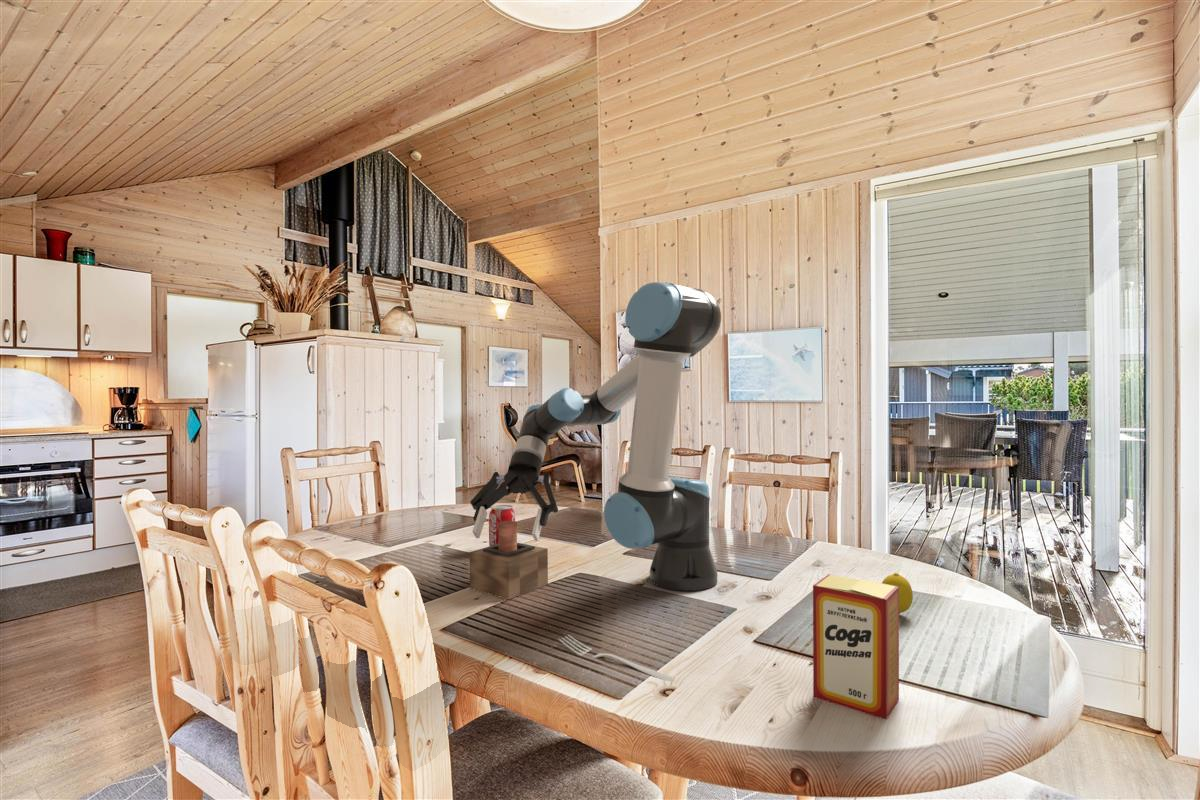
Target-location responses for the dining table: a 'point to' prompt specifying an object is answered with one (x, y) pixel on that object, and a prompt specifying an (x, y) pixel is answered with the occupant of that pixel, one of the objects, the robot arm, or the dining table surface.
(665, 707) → the dining table surface
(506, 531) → the peg
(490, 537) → the soda can
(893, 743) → the dining table surface
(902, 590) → the lemon
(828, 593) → the baking soda box
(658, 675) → the fork
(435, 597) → the dining table surface
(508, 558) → the socket block
